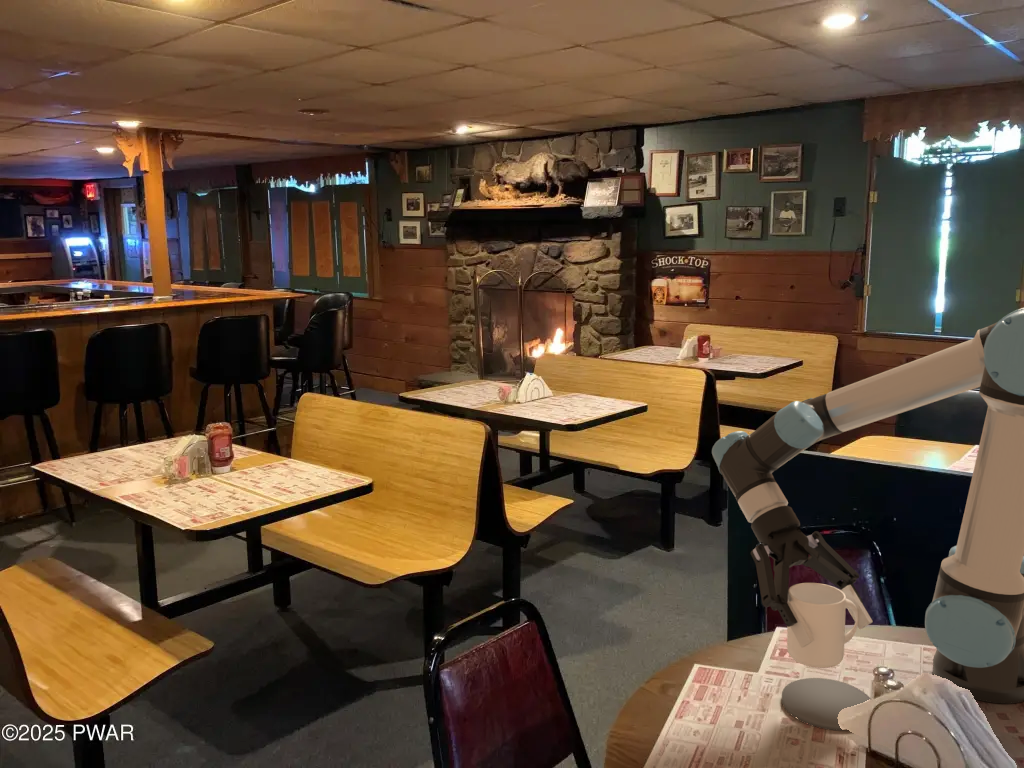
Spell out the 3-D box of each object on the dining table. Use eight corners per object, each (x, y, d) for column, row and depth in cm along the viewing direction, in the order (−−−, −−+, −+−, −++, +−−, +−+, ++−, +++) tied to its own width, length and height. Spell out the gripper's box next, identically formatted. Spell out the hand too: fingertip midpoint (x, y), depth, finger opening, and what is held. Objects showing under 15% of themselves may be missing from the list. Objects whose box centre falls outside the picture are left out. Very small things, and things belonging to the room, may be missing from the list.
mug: (874, 662, 128) (876, 598, 126) (806, 673, 125) (807, 607, 123) (841, 637, 136) (843, 577, 134) (776, 647, 133) (777, 586, 132)
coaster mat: (870, 689, 136) (870, 684, 135) (878, 736, 123) (878, 730, 122) (782, 678, 140) (782, 673, 140) (780, 722, 127) (780, 716, 127)
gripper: (809, 513, 147) (877, 626, 135) (703, 537, 136) (766, 661, 125) (833, 492, 141) (906, 608, 130) (724, 516, 131) (793, 643, 120)
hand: (837, 634), depth 127 cm, fingers closed on mug, 12 cm apart
